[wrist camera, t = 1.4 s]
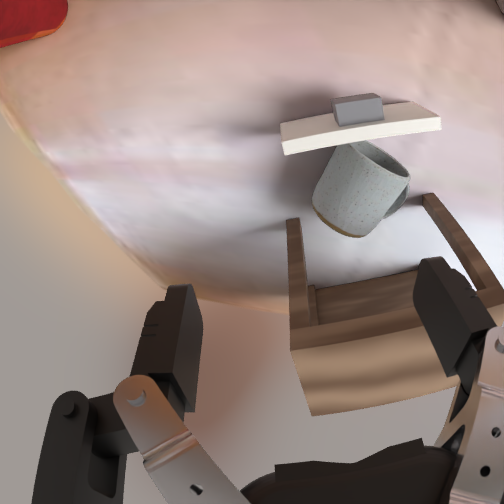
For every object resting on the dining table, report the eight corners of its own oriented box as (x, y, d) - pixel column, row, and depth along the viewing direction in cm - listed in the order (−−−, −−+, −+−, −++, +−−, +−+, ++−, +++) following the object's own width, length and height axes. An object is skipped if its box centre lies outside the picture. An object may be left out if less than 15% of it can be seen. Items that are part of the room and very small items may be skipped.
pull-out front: (274, 104, 29) (275, 119, 24) (410, 83, 26) (438, 94, 21) (283, 134, 31) (284, 155, 26) (414, 112, 28) (441, 129, 23)
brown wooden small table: (286, 220, 37) (290, 350, 23) (433, 192, 33) (510, 301, 19) (304, 294, 44) (311, 416, 29) (429, 270, 40) (476, 379, 26)
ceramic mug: (303, 191, 35) (311, 230, 29) (336, 125, 30) (354, 150, 24) (382, 223, 37) (402, 264, 30) (417, 166, 32) (447, 199, 26)
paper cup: (57, -29, 19) (-32, -34, 8) (87, 10, 23) (-5, 12, 12) (16, 19, 22) (-72, 36, 11) (42, 57, 26) (-48, 85, 14)
